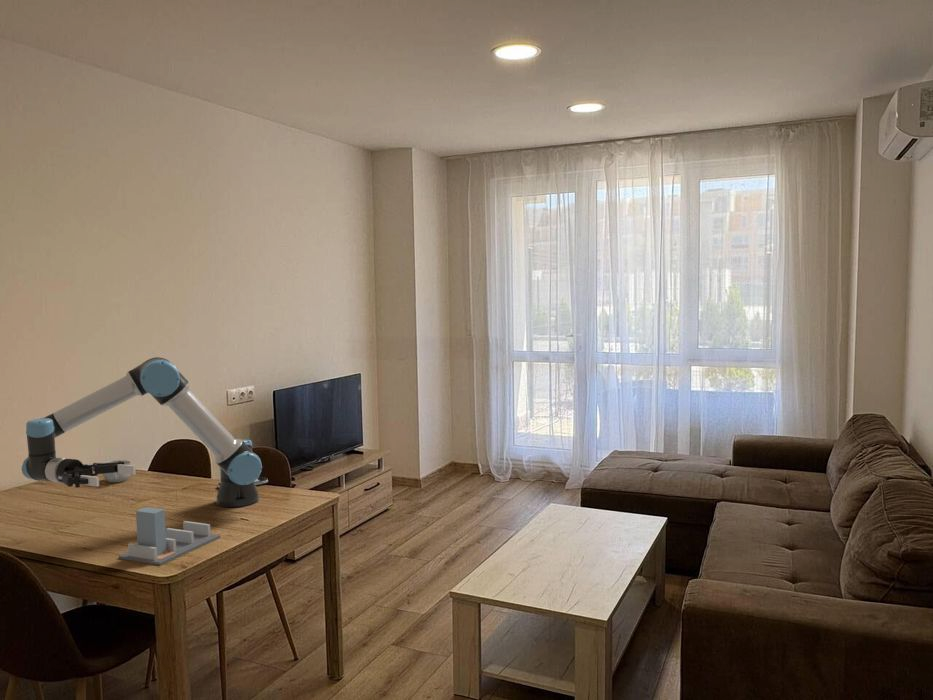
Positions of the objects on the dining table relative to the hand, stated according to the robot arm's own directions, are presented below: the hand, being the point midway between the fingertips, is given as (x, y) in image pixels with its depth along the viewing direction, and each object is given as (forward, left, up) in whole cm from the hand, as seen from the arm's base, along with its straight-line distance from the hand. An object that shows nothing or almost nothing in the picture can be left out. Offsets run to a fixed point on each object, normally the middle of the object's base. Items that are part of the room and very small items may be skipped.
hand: (116, 475), depth 220 cm
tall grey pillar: (0, +12, -22) cm, 26 cm away
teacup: (-61, -67, -24) cm, 94 cm away
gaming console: (-74, -13, -24) cm, 79 cm away
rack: (-8, +13, -23) cm, 28 cm away
